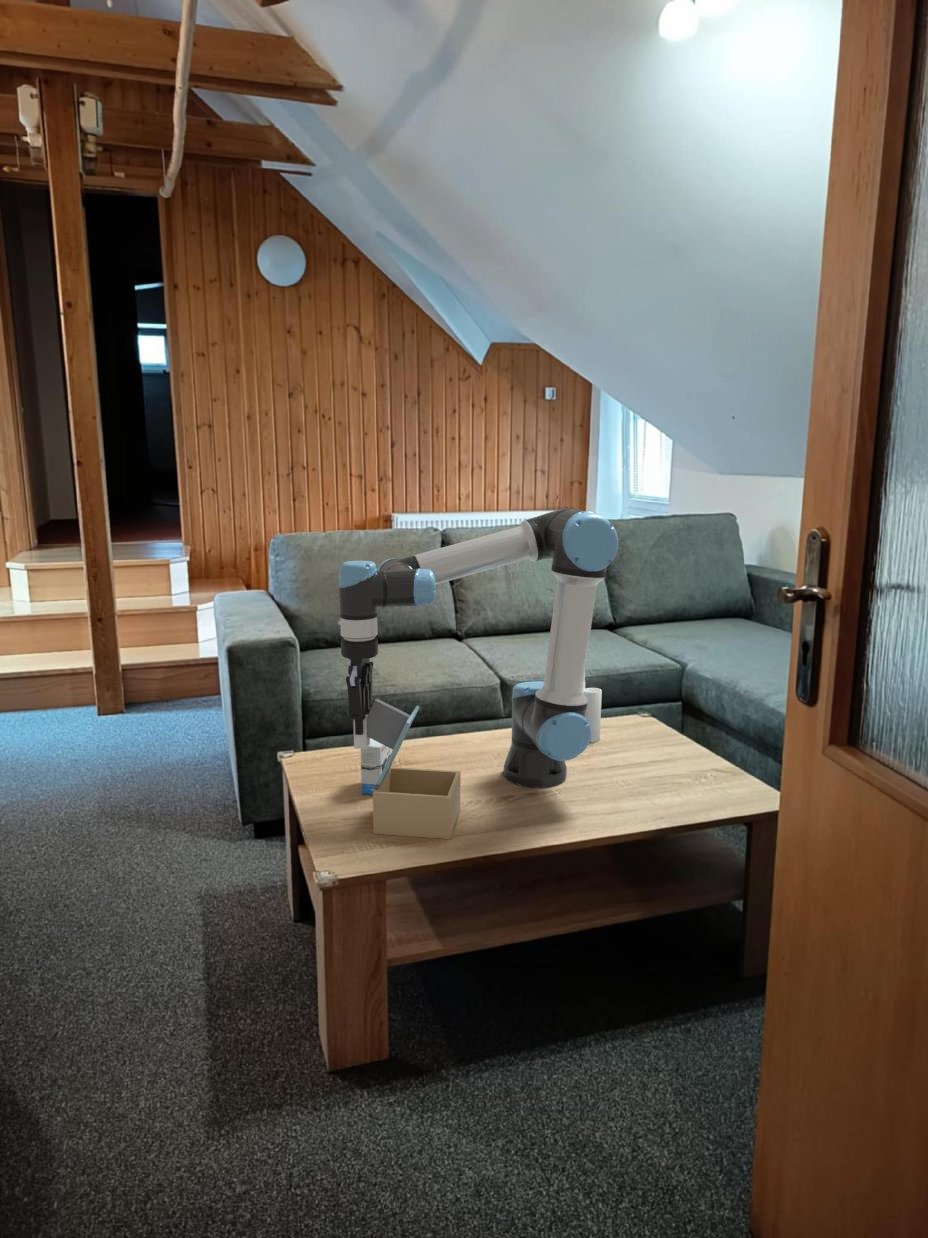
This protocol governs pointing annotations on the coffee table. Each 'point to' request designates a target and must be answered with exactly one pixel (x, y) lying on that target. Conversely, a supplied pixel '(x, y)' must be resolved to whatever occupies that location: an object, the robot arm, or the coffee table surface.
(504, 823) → the coffee table surface
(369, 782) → the ink box
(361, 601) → the robot arm
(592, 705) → the vase
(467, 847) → the coffee table surface
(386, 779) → the carton
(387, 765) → the lid flap
